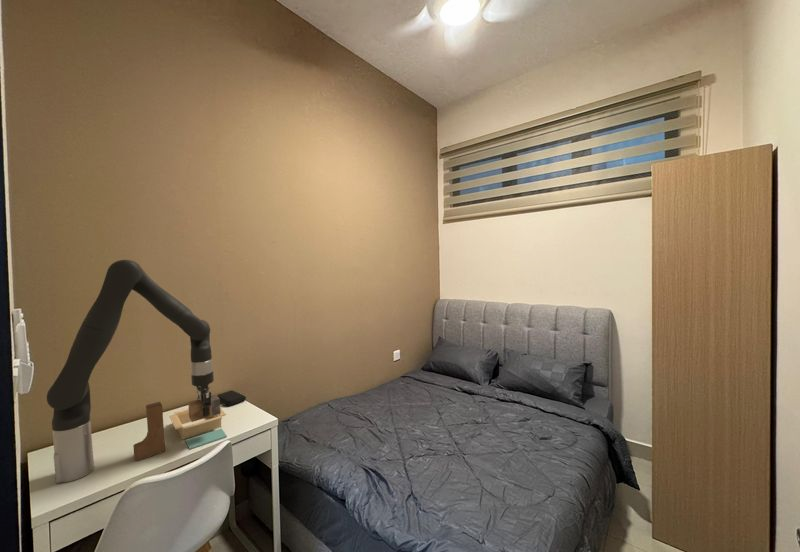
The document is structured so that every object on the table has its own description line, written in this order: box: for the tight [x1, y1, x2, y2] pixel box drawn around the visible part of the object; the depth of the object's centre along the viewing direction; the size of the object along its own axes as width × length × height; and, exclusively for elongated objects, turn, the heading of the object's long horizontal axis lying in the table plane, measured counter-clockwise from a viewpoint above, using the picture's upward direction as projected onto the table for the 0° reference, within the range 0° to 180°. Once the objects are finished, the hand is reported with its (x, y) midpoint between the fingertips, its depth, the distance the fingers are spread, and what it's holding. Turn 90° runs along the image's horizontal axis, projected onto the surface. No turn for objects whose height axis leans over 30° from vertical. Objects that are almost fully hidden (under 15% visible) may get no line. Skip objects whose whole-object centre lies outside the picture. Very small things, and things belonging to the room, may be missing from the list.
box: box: [187, 394, 221, 423], centre depth 136 cm, size 10×5×6 cm, turn 131°
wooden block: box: [133, 401, 166, 462], centre depth 127 cm, size 9×4×18 cm, turn 131°
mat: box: [185, 428, 228, 450], centre depth 137 cm, size 13×8×1 cm, turn 131°
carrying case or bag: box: [216, 390, 247, 407], centre depth 173 cm, size 11×3×15 cm
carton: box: [169, 407, 227, 440], centre depth 147 cm, size 18×19×5 cm
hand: (204, 413), depth 136 cm, fingers closed on box, 5 cm apart
